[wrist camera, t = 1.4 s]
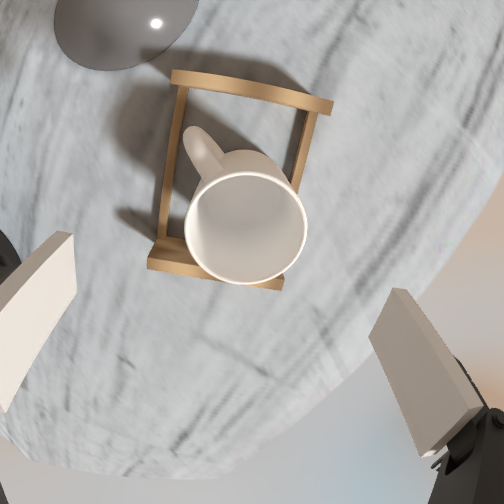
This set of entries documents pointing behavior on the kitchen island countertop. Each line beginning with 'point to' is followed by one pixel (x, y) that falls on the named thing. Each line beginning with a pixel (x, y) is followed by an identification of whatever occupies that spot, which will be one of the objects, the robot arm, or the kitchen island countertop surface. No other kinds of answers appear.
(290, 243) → the mug
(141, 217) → the kitchen island countertop surface
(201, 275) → the caddy
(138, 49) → the coaster
